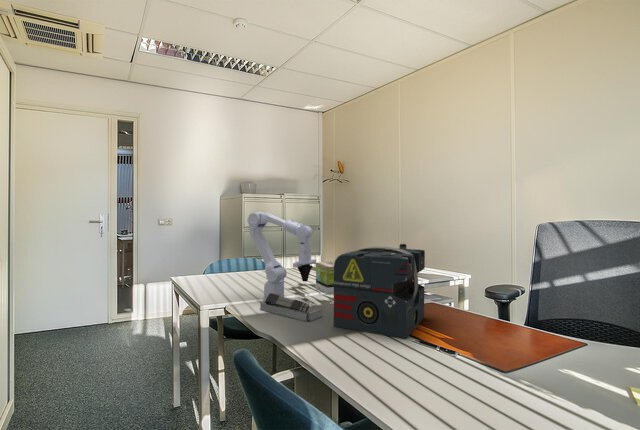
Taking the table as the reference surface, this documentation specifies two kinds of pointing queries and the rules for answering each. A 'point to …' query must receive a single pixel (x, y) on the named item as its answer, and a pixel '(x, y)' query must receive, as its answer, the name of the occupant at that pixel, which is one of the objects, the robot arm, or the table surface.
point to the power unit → (379, 290)
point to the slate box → (291, 312)
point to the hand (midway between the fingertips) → (304, 281)
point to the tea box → (325, 277)
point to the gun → (287, 302)
